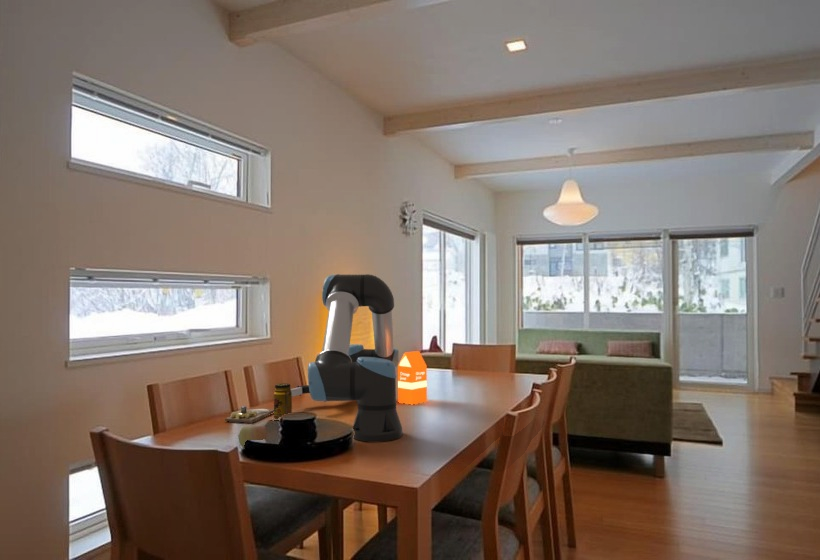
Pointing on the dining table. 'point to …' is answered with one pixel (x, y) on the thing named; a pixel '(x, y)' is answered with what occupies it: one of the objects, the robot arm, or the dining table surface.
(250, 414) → the gear
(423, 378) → the orange juice
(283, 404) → the condiment
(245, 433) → the fruit
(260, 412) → the gear board
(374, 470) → the dining table surface
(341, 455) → the dining table surface
